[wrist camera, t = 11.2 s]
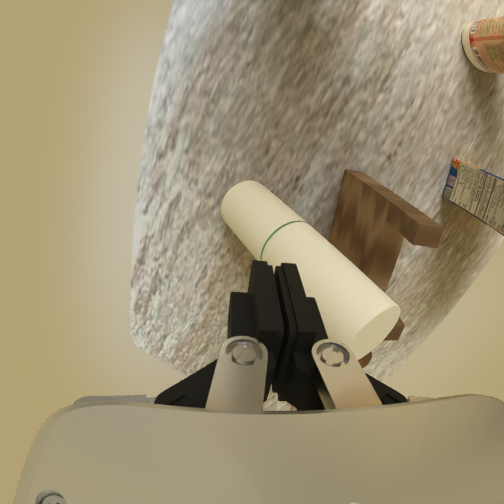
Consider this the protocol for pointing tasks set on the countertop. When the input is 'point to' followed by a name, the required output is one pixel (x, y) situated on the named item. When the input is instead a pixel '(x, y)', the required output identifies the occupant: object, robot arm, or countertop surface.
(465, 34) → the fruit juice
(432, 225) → the U-rest
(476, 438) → the robot arm
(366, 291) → the cylindrical container
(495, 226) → the beverage box
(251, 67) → the countertop surface
